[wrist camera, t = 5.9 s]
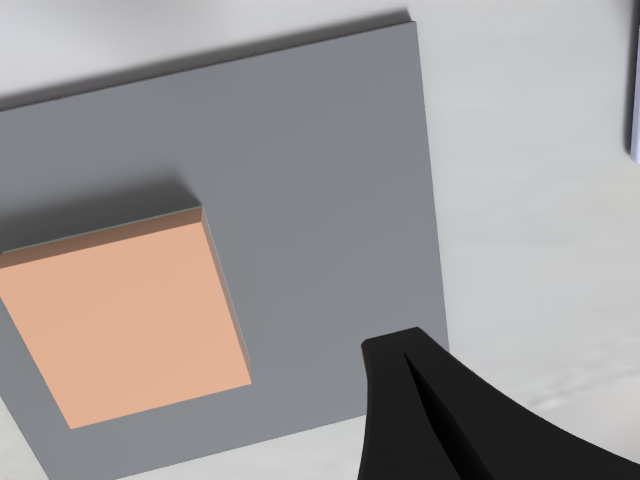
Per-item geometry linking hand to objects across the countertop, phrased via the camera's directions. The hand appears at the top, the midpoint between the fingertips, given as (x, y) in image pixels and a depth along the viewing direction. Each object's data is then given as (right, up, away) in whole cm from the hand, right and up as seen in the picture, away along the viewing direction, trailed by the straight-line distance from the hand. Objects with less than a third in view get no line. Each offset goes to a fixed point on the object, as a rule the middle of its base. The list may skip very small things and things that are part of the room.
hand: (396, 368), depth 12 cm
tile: (-5, +1, +8) cm, 9 cm away
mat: (-6, +1, +9) cm, 11 cm away
